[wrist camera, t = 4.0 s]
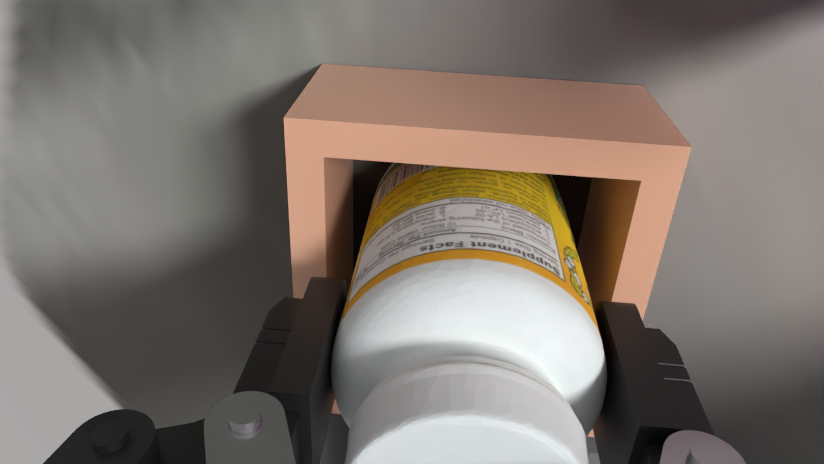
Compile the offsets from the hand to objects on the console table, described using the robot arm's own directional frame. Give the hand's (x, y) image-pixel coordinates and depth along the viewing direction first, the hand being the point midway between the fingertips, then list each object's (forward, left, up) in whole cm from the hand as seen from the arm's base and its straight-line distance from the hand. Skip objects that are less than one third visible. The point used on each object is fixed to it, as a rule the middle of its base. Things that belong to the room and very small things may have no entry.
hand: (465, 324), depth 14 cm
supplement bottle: (0, 0, -5) cm, 5 cm away
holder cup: (0, 0, -5) cm, 5 cm away
